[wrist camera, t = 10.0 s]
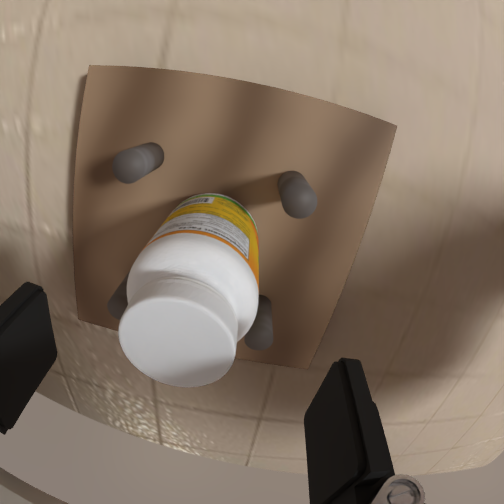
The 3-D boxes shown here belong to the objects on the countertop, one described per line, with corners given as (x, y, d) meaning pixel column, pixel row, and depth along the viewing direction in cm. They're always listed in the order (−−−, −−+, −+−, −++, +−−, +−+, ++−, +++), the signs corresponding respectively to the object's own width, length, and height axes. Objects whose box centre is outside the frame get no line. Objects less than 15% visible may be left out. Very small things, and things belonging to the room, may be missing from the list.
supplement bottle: (229, 290, 20) (211, 417, 11) (153, 249, 19) (84, 357, 10) (276, 221, 18) (292, 331, 9) (193, 173, 17) (127, 243, 8)
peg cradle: (387, 124, 17) (426, 130, 12) (305, 356, 24) (313, 404, 20) (100, 67, 16) (57, 59, 11) (86, 308, 23) (58, 347, 18)
